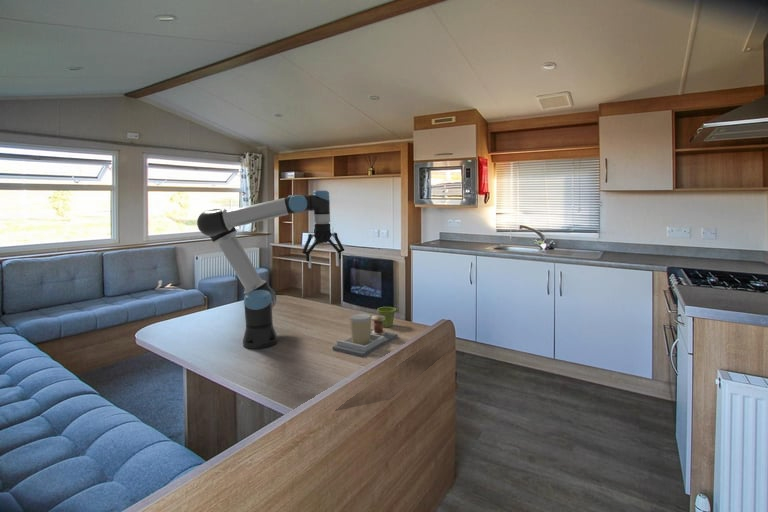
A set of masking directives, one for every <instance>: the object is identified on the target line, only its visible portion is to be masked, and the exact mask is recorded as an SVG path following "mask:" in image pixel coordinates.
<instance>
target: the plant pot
mask: <svg viewBox="0 0 768 512" xmlns="http://www.w3.org/2000/svg"><path fill="white" fill-rule="evenodd" d="M376 311H377V312H378V315H382V316H385V320H384V321H383V328H386V327H387V328H392V326H394V319H395V313H396V311H397V309H396V307H392V306H382V307H378V308H377V310H376Z"/></svg>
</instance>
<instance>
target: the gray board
mask: <svg viewBox="0 0 768 512" xmlns="http://www.w3.org/2000/svg"><path fill="white" fill-rule="evenodd" d="M373 330H374V328H373V329H372V328H371V329H370V343H369V344H367V345H364V346H363V345H359V344H354V343H352V336H351V337H349V338H348V339H345V340H340V339H338V340H336V344H335V345H334V346H332V351H335V352H338V353H344V354H348V355H352V356H356V357H361V358H364V357H366V356H368V355H369V353H370V354H371V353H373V352H375V351H376V350H378V349H380V348H381V347H383V346H385V345H386V343H387V344H389V343H390V342H392V341H394V340H395V339H398V336H399V335H398V333H395V332H389V331H385V335H383V336H380V335H375V334H372V331H373ZM388 342H389V343H388Z"/></svg>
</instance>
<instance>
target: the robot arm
mask: <svg viewBox="0 0 768 512" xmlns="http://www.w3.org/2000/svg"><path fill="white" fill-rule="evenodd" d="M330 202H331V200H330V192H329V191H328V190H313V193H312V194H292V195H291V194H290V195H288V196H286V197H282V198H279V199H273V200H268V201H264V202H260V203H254V204H251V205H246V206H241V207H237V208H233V209H228V210H227V209H225V208H222V209H221V208H216V209H215V208H213V209H209V210H208V209H207V210H204V211H203V212H201V214H199V216H198V217H197V221H196V224H197V225H196V226H197V228H198V231H199V232H200V233H201V234H203V235H205V236H207V237H209V238H210V239H211V241H212V243H213V244H217V245H218V246H219V247H220V249H221V251H222V253H223V254H224V256H225V258H226V260H227V261H228V262H229V265H230V266H231V268H232V269H233V271H234V274H236V276H237V277H238V280H239V281H240V283H241V285H242V286H243V287H244V291H243V294H244V297H243V305H244V315H245V316H244V317H245V331H244V335H243V338H242V346H243V347H244V348H246V349H249V348H250V350H252V349H253V350H259V349H266V348H270V347H273V346H274V345H276V344H278V341H279V340H278V338H279V337H278V335H277V332H276V329H275V327H274V324H273V322H274V321H273V308H274V307H275V306H276V303H277V294H276V291H275V290H274V289H273V288H271V286H269V285H270V284H268V282H267V281H266V280H264V279H262V278H261V276H260V275H259V273H258V272H257V270H256V268H255V267H254V264H253V263H252V261H251V259H250V258H249V256H248V255H247V253H246V251H245V249H244V248H243V245H242V243H241V242H240V241H239V239H238V237H237V236H236V235H237V228H236V227H241V226H245V225H249V224H254V223H259V222H262V221H268V220H271V219H275V218H280V217H284V216H288V215H293V214H298V213H303V212H313V216H314V217H313V218H314V219H313V222H314V234H313V233H308V234H307V235H308V236H307V240H306V242H305V244H304V245H303V249H302V251H301V253H302V254H304V255H305V257H306V258H305V260H306V262H307V263H308V268H309V269H312V254H311V253H312V252H313V250H314V248H315V247H316V246H317V245H318V244H323V243H329V244H330V246H331V247H332V248H333V249H334V250H335V251H336V252H335V266H336V267H340V260H341V258H342V257H341V256H342V255H341V254H342V252H345V249H344V247H343V244H342V242H341V241H340V239H339V236H338V233H337V232H333V233H332V231H331V207H330V205H331V203H330ZM332 237H333V238H334V240H335V241H336V244H337V245H336V244H335V243H334V242H333V240H332V239H331V238H332ZM312 239H315V240H314V241H313V242H312V244H311V245H310V243H311V241H312ZM309 245H310V246H309ZM308 247H309V248H308Z"/></svg>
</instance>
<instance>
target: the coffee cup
mask: <svg viewBox="0 0 768 512" xmlns="http://www.w3.org/2000/svg"><path fill="white" fill-rule="evenodd" d="M371 317H372V316H371V315H370V314H368V313H355V314H352V315H350V317H349V321H350V323H349V324H350V334H351V337H352V343H354V344H359V345H363V346H364V345H367V344H369V343H370V329H372V328H371V327H372V326H371V325H372V320H371Z"/></svg>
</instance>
